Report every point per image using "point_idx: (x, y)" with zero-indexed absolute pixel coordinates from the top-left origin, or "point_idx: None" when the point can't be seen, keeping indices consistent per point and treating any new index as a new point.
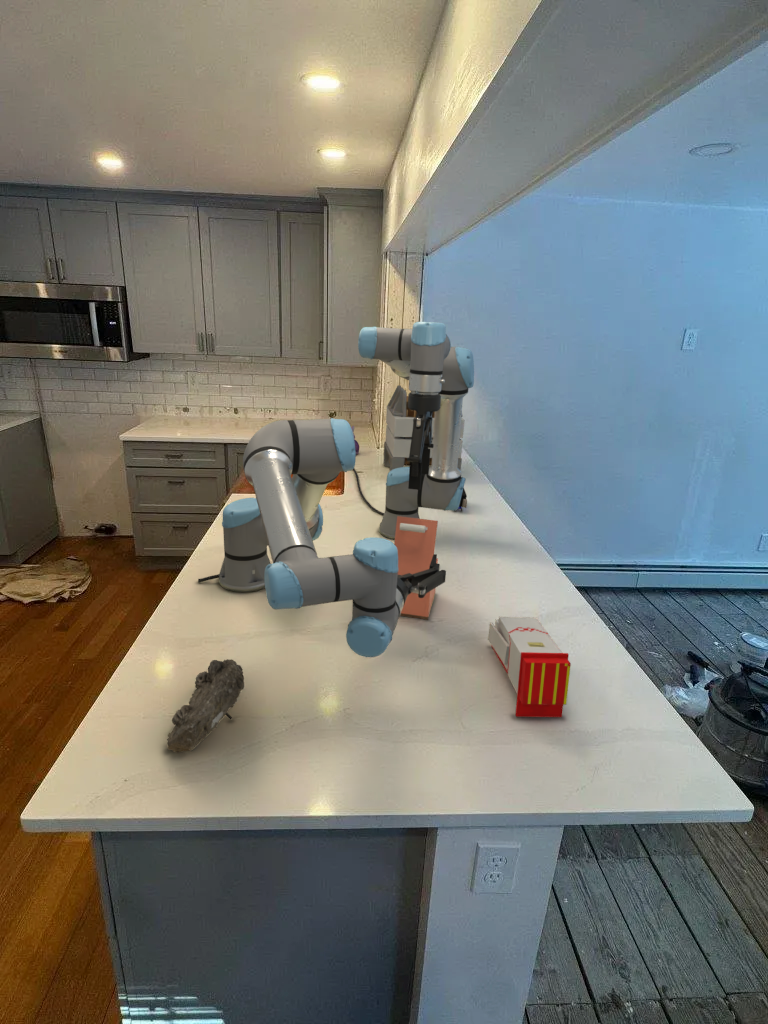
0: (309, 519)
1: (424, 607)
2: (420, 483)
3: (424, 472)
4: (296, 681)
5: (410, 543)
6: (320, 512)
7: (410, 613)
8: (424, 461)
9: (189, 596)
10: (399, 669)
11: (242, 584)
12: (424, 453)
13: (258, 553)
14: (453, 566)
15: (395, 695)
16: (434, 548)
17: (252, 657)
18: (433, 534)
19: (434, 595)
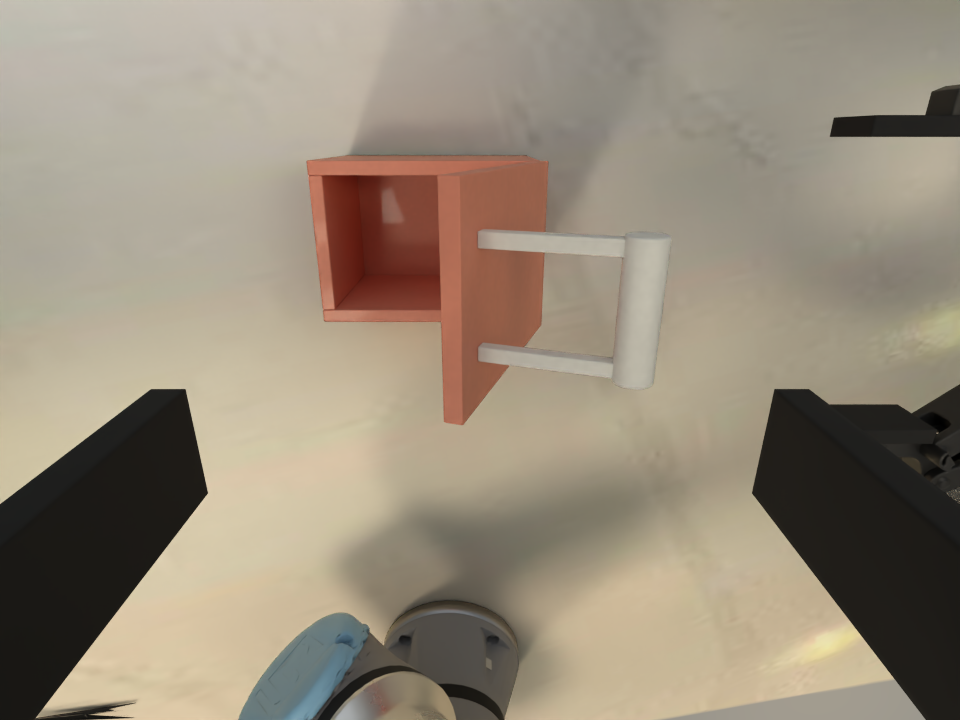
0: (424, 709)
1: None
2: (832, 420)
3: (183, 438)
4: None
5: (507, 295)
6: (320, 697)
7: None
8: (106, 532)
9: (561, 712)
10: (806, 195)
11: (514, 655)
12: (12, 638)
13: (474, 703)
14: (80, 112)
15: (920, 183)
16: (508, 166)
17: None
18: (490, 185)
19: (367, 155)
